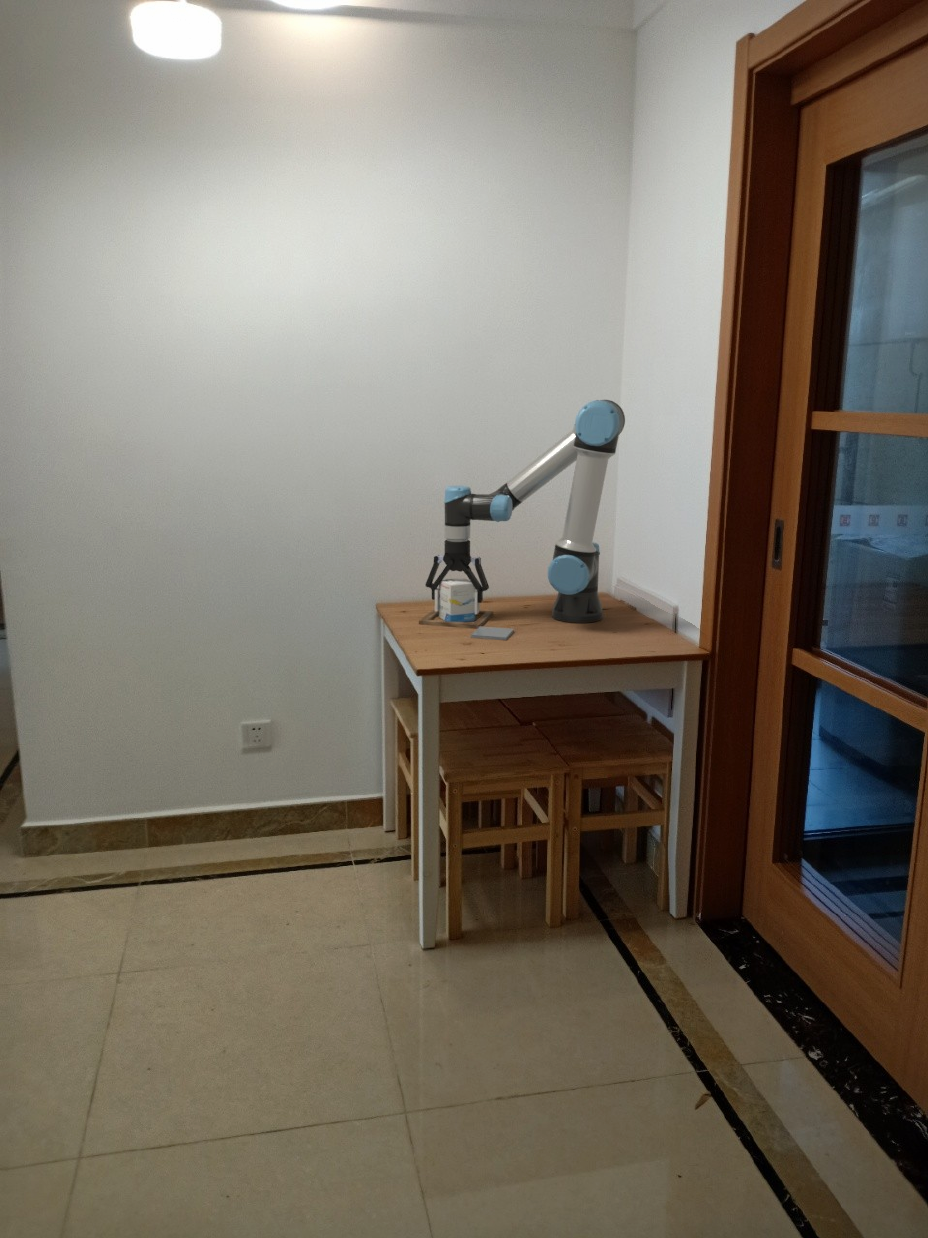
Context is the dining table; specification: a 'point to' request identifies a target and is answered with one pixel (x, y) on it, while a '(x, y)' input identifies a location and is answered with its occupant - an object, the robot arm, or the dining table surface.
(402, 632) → the dining table surface
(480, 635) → the coaster
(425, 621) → the pocket frame
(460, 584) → the ink box
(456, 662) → the dining table surface
